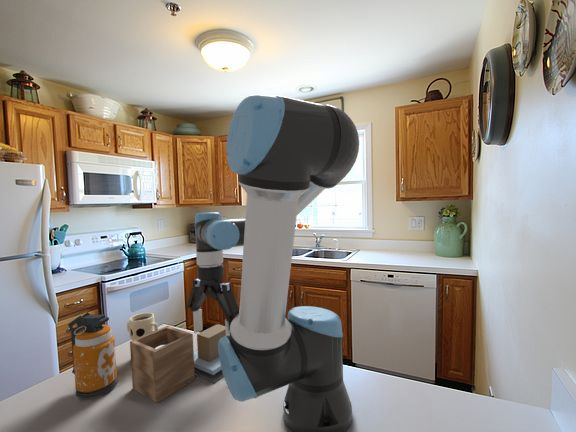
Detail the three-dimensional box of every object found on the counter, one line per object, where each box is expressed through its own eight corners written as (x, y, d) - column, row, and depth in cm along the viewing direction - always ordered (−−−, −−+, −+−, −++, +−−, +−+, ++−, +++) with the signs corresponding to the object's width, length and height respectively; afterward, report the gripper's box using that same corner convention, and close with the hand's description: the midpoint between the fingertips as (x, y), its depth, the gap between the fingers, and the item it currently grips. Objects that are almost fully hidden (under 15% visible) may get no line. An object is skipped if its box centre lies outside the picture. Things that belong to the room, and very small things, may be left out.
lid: (245, 357, 89) (244, 327, 89) (213, 379, 78) (211, 345, 78) (215, 346, 96) (214, 318, 96) (182, 366, 86) (180, 334, 85)
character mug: (120, 361, 90) (118, 320, 89) (137, 350, 97) (135, 311, 96) (151, 365, 87) (149, 322, 87) (166, 353, 94) (164, 313, 94)
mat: (249, 358, 89) (249, 357, 89) (214, 383, 77) (214, 381, 77) (214, 346, 97) (214, 345, 97) (178, 367, 86) (178, 365, 86)
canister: (97, 403, 71) (92, 322, 70) (60, 398, 73) (54, 320, 72) (125, 381, 80) (120, 308, 79) (90, 377, 82) (86, 307, 81)
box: (194, 379, 80) (192, 334, 79) (157, 403, 70) (154, 352, 70) (169, 367, 86) (167, 325, 85) (132, 388, 76) (129, 341, 76)
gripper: (251, 265, 82) (254, 340, 83) (192, 259, 96) (196, 323, 97) (232, 271, 76) (236, 351, 77) (172, 263, 90) (176, 332, 90)
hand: (213, 336), depth 87 cm, fingers open, 13 cm apart
